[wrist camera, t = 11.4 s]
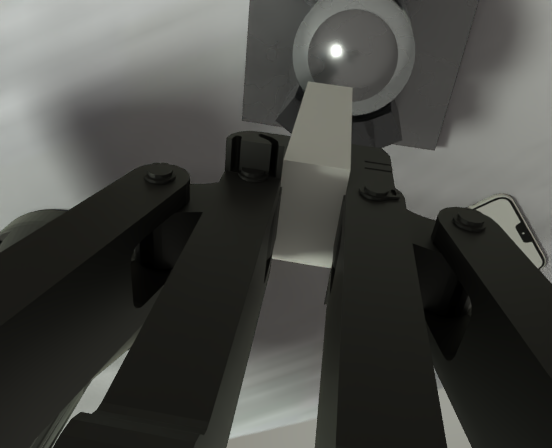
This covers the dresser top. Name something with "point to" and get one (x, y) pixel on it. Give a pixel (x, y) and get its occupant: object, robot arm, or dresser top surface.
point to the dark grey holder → (378, 124)
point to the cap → (356, 49)
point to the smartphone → (512, 225)
